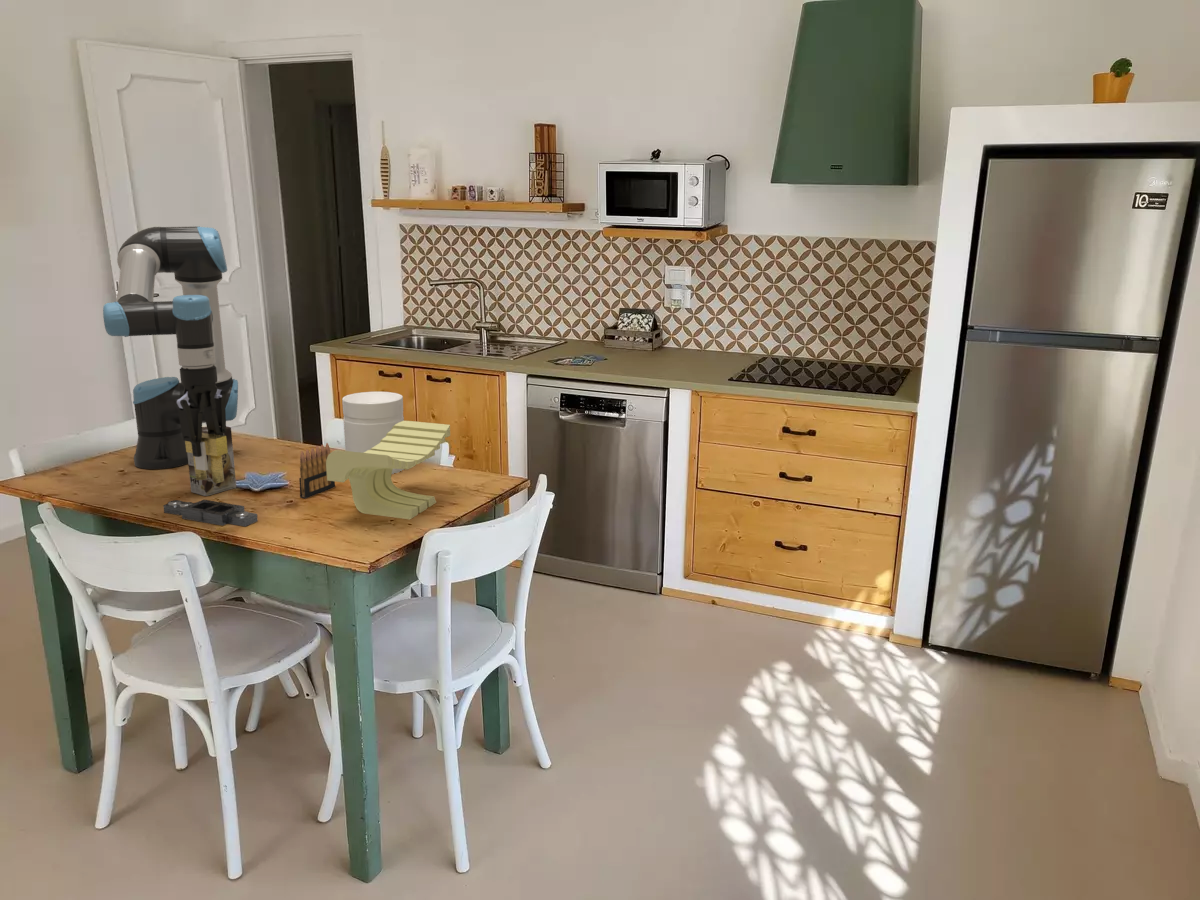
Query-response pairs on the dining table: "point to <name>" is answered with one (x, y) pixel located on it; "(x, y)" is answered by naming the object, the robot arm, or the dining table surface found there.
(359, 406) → the canister
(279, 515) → the dining table surface
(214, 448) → the tan piece
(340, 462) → the slatted curved stool
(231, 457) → the coffee box
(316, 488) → the ammunition clip
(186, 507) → the chain joint
